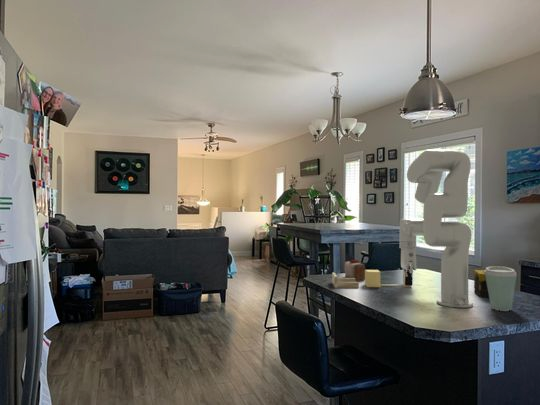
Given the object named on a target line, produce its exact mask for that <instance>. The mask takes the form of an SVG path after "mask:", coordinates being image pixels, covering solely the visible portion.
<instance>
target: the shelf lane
mask: <svg viewBox="0 0 540 405" xmlns="http://www.w3.org/2000/svg"><path fill="white" fill-rule="evenodd" d="M331 273H332V274H331V276H332V277H331V279H332V280H331V281H332V285H333V287H334V288H335V289H336V288H337V289H339V288H341V289H345V288H346V289H359V287H360V284H359V283H360V281H355V278H348V277H338V275H337V274H336V272H331Z"/></svg>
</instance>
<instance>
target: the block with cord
mask: <svg viewBox="0 0 540 405" xmlns="http://www.w3.org/2000/svg"><path fill="white" fill-rule="evenodd" d="M408 272H409V271H408ZM405 277H406V271H403V270H402V284H394V283H393V284H392V283H391V284H388V283H385V284H384V283H381V271H380V270H379V269H365V280H364V285H365V287H367V288H381V287H383V286H385V287H404V288H412V286H411V285H405Z"/></svg>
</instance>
